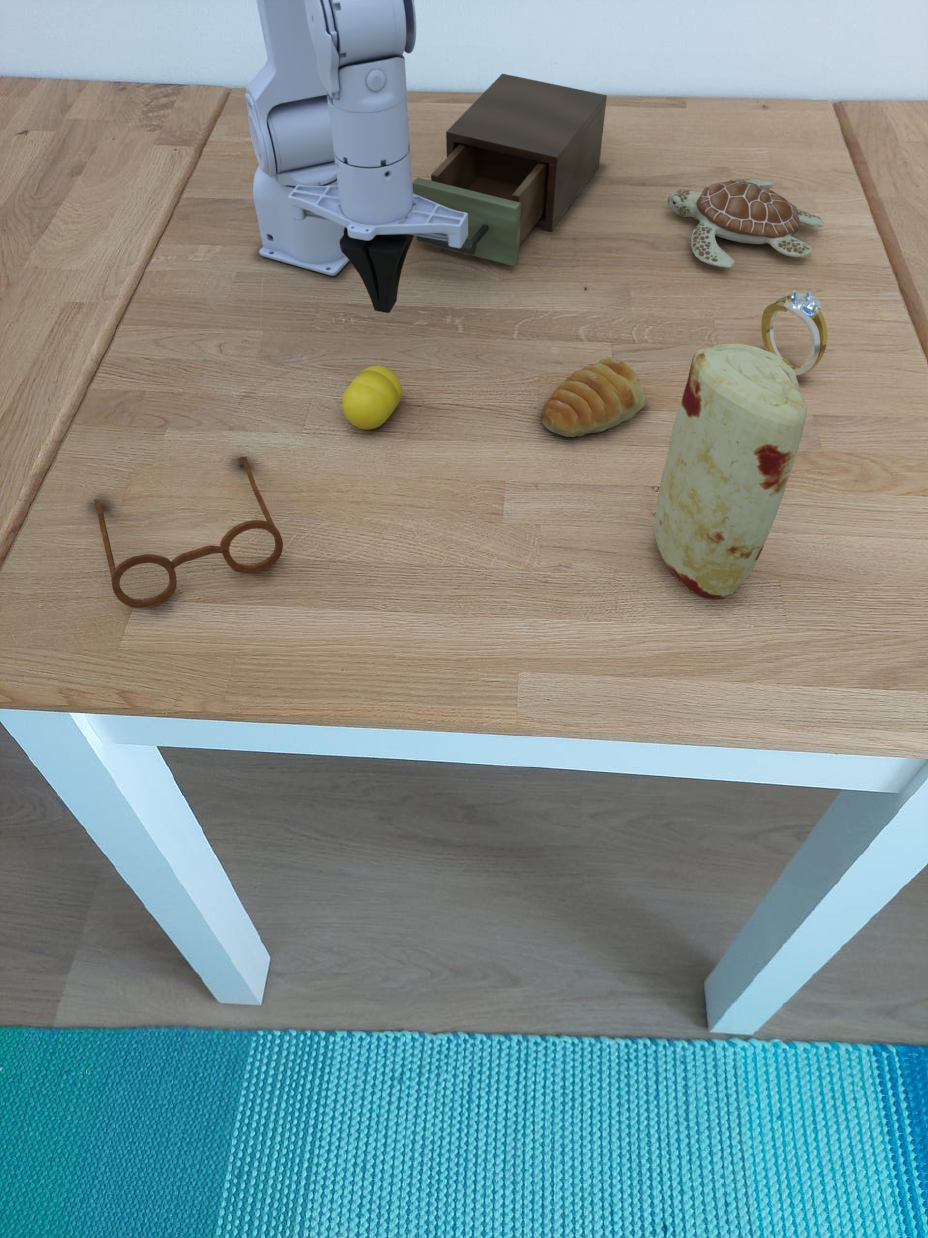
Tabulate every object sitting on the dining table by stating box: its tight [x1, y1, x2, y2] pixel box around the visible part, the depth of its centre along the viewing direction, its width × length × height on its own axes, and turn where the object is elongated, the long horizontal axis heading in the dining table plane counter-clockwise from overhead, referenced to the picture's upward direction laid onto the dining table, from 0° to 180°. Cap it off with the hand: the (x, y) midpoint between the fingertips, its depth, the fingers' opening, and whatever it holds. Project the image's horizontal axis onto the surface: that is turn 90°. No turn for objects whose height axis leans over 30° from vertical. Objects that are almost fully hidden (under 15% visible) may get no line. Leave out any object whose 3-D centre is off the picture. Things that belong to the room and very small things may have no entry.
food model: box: [652, 343, 808, 600], centre depth 66 cm, size 10×7×20 cm
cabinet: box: [445, 73, 608, 232], centre depth 105 cm, size 15×13×8 cm
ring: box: [760, 289, 828, 377], centre depth 85 cm, size 7×3×8 cm, turn 25°
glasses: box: [93, 456, 284, 609], centre depth 75 cm, size 13×13×5 cm
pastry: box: [542, 357, 646, 438], centre depth 84 cm, size 9×7×4 cm
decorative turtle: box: [667, 178, 825, 269], centre depth 100 cm, size 18×17×5 cm
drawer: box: [412, 143, 549, 267], centre depth 98 cm, size 18×12×6 cm, turn 155°
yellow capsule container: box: [341, 365, 403, 431], centre depth 83 cm, size 6×4×4 cm
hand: (385, 305), depth 81 cm, fingers closed
